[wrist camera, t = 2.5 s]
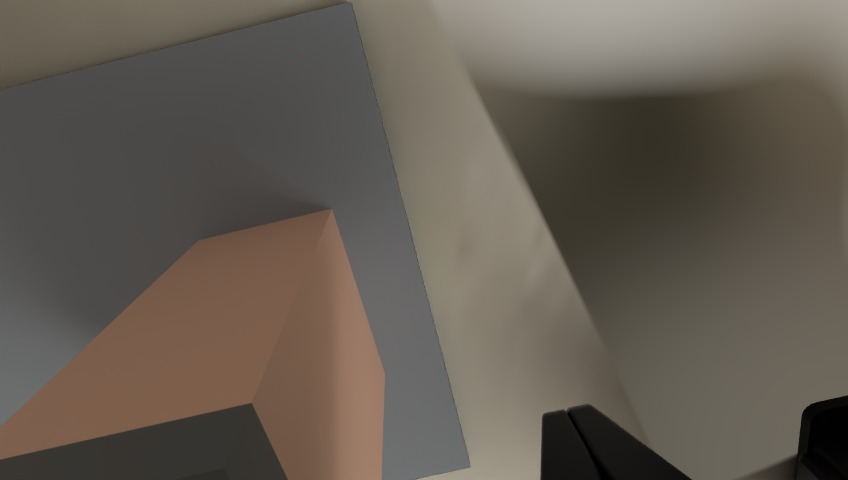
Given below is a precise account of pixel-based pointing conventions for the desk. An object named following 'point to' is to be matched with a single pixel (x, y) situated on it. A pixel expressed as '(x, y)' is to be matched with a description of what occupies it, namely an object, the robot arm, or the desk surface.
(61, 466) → the terracotta block
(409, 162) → the desk surface
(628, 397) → the desk surface
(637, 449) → the robot arm
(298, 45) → the rubber mat
